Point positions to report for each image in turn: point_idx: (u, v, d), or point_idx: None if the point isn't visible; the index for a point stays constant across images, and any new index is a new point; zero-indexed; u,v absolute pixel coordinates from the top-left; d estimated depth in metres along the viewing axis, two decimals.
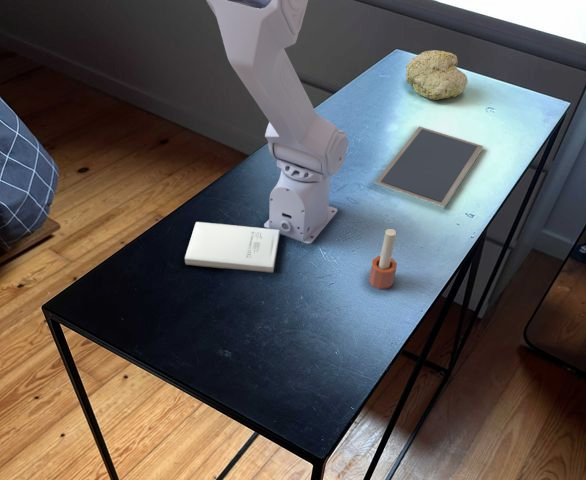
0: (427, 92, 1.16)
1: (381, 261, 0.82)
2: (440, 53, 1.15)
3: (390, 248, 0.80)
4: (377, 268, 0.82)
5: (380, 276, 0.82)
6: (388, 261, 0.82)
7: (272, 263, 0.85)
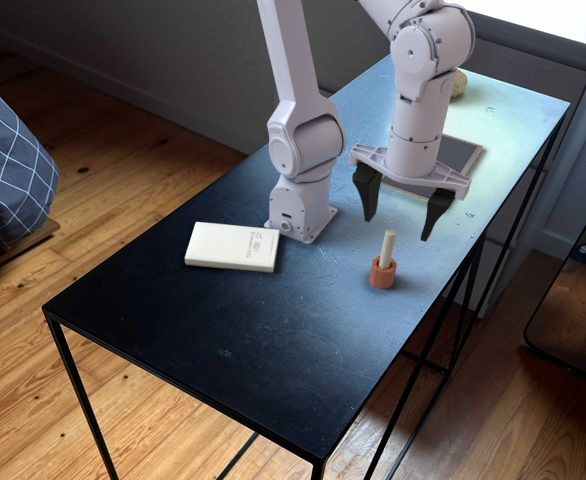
0: None
1: (381, 261, 0.82)
2: None
3: (390, 248, 0.80)
4: (377, 268, 0.82)
5: (380, 276, 0.82)
6: (388, 261, 0.82)
7: (272, 263, 0.85)
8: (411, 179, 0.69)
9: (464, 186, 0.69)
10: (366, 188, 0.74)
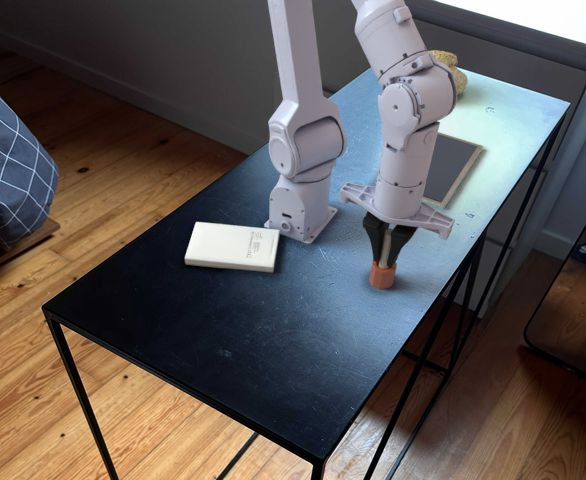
0: None
1: (381, 261, 0.82)
2: (440, 53, 1.15)
3: None
4: (377, 268, 0.82)
5: (380, 276, 0.82)
6: None
7: (272, 263, 0.85)
8: (397, 219, 0.73)
9: (447, 227, 0.73)
10: (376, 232, 0.77)
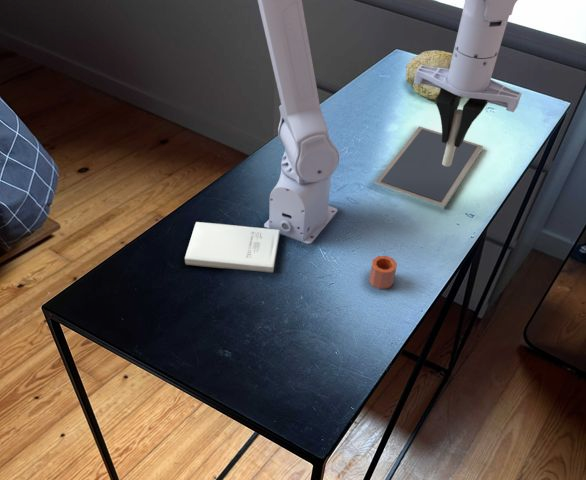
0: (427, 92, 1.16)
1: (449, 142, 0.90)
2: (440, 53, 1.15)
3: (458, 128, 0.88)
4: (377, 268, 0.82)
5: (380, 276, 0.82)
6: None
7: (272, 263, 0.85)
8: (470, 93, 0.82)
9: (515, 98, 0.81)
10: (448, 109, 0.85)
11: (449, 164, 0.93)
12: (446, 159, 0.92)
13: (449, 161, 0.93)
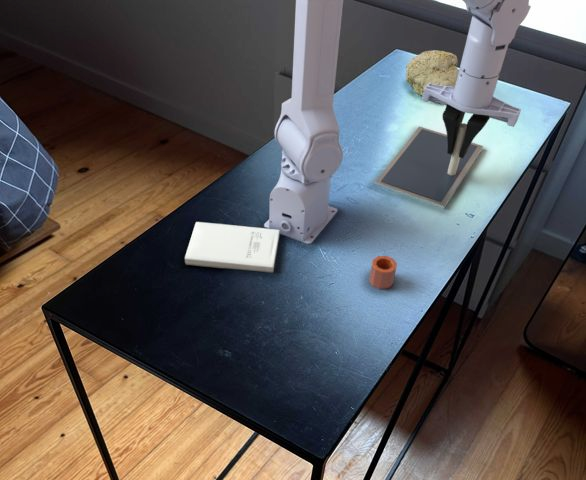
0: None
1: (454, 153, 0.98)
2: (440, 53, 1.15)
3: (463, 140, 0.96)
4: (377, 268, 0.82)
5: (380, 276, 0.82)
6: None
7: (272, 263, 0.85)
8: (474, 109, 0.89)
9: (515, 114, 0.89)
10: (453, 124, 0.93)
11: (454, 173, 1.01)
12: (451, 169, 1.00)
13: (454, 170, 1.00)
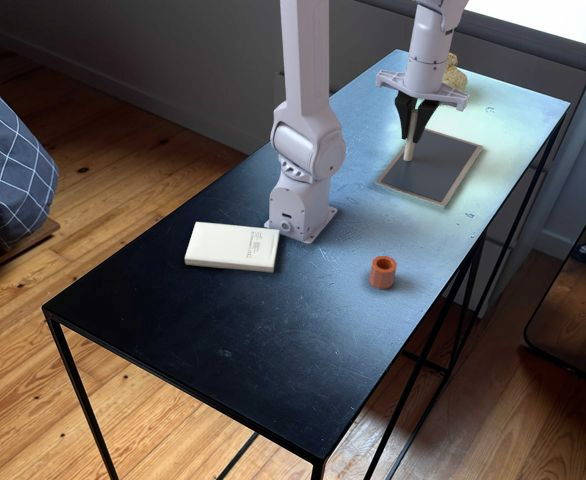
0: None
1: (408, 139, 1.00)
2: None
3: (415, 125, 0.98)
4: (377, 268, 0.82)
5: (380, 276, 0.82)
6: None
7: (272, 263, 0.85)
8: (423, 94, 0.92)
9: (463, 99, 0.91)
10: (405, 109, 0.95)
11: (410, 159, 1.03)
12: (407, 155, 1.02)
13: (409, 156, 1.02)
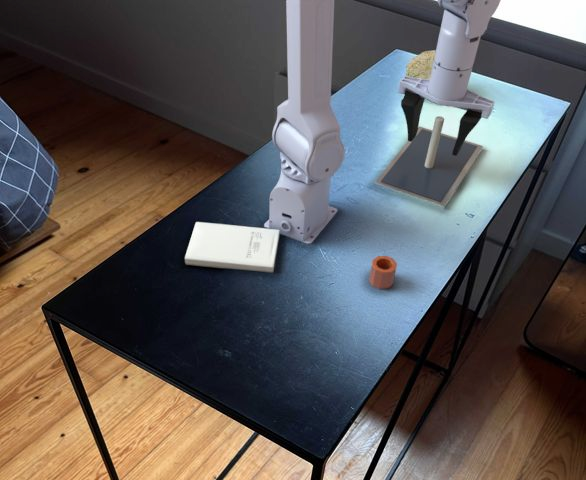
0: None
1: (430, 146, 0.99)
2: None
3: (439, 133, 0.97)
4: (377, 268, 0.82)
5: (380, 276, 0.82)
6: (436, 146, 0.99)
7: (272, 263, 0.85)
8: (448, 101, 0.91)
9: (489, 106, 0.90)
10: (411, 111, 0.95)
11: (431, 166, 1.02)
12: (428, 162, 1.01)
13: (431, 163, 1.01)
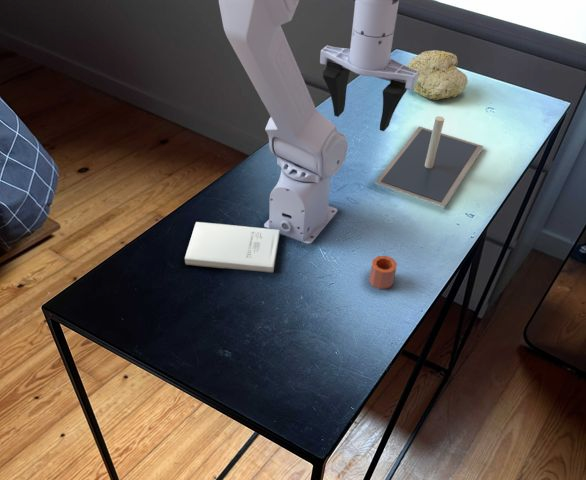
0: (427, 92, 1.16)
1: (430, 146, 0.99)
2: (440, 53, 1.15)
3: (439, 133, 0.97)
4: (377, 268, 0.82)
5: (380, 276, 0.82)
6: (436, 146, 0.99)
7: (272, 263, 0.85)
8: (369, 71, 0.85)
9: (412, 76, 0.84)
10: (334, 83, 0.89)
11: (431, 166, 1.02)
12: (428, 162, 1.01)
13: (431, 163, 1.01)
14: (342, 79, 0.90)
